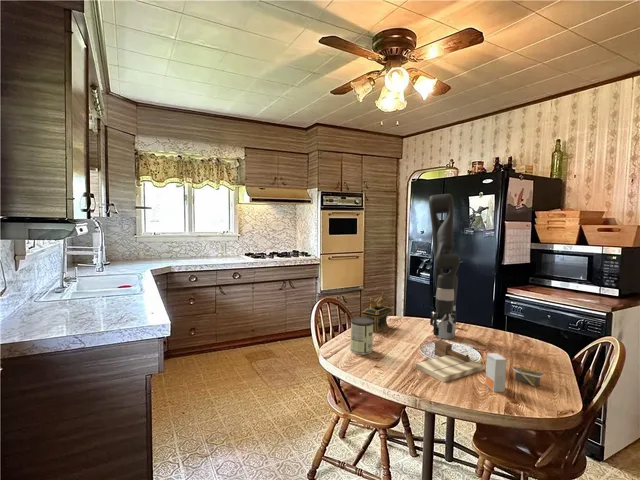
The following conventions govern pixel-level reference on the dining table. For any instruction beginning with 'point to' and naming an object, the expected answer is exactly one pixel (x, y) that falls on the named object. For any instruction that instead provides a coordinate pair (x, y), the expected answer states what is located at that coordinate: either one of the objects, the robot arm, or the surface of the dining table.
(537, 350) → the dining table surface
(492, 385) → the skincare box
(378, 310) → the decorative box
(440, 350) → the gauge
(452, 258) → the robot arm
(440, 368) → the board
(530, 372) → the grey storage bin
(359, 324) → the coffee can
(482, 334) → the dining table surface
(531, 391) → the dining table surface
